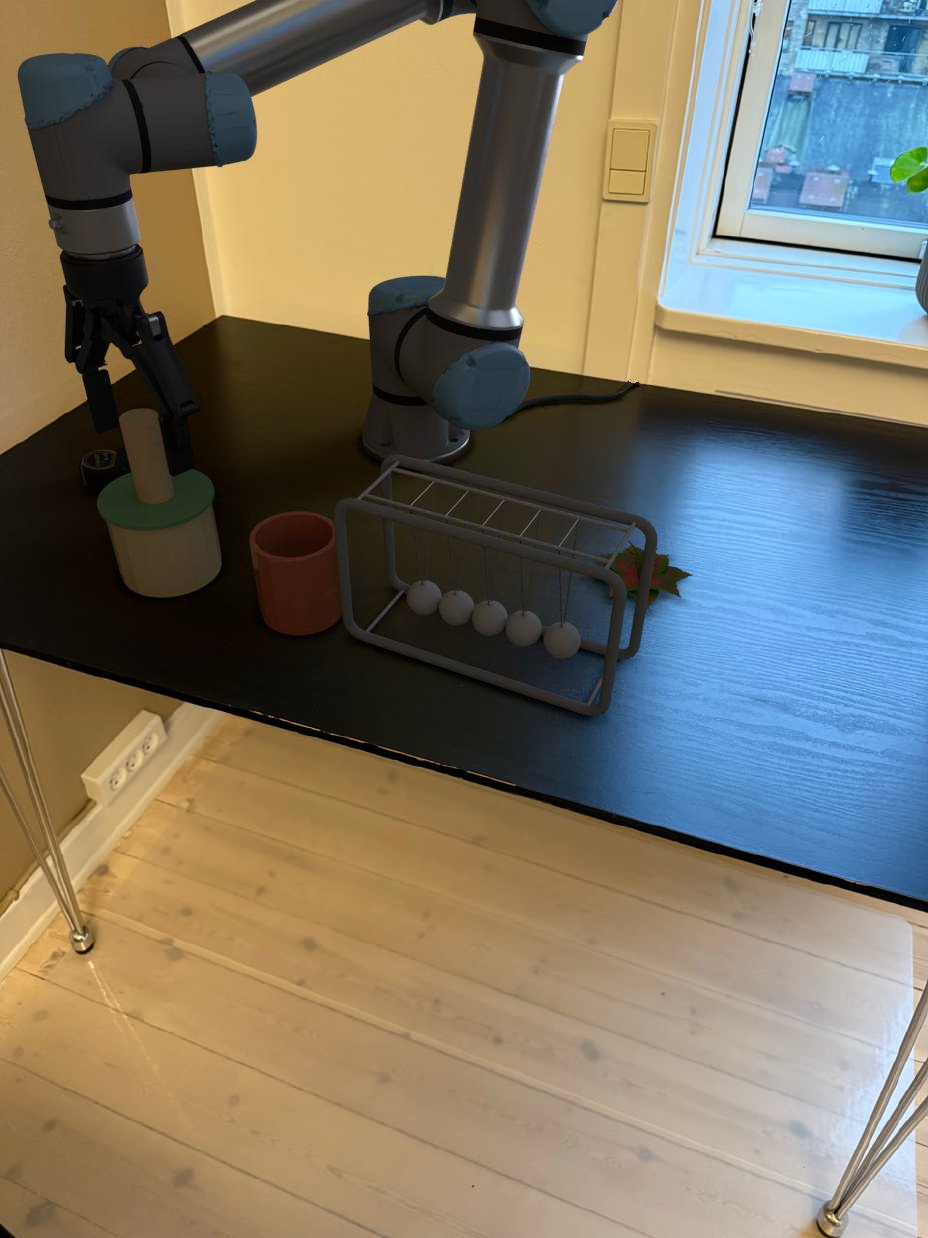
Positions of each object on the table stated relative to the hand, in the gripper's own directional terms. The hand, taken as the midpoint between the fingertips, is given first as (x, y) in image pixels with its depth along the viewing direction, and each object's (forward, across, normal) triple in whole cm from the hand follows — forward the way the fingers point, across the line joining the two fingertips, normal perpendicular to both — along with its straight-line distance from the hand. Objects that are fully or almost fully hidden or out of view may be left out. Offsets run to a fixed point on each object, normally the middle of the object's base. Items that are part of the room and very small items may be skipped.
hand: (144, 449), depth 103 cm
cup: (+16, +17, +5) cm, 24 cm away
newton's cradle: (+16, +37, +14) cm, 43 cm away
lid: (+6, 0, 0) cm, 6 cm away
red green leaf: (+16, +42, +35) cm, 57 cm away
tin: (+16, 0, 0) cm, 16 cm away
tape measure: (+16, -22, +7) cm, 28 cm away
